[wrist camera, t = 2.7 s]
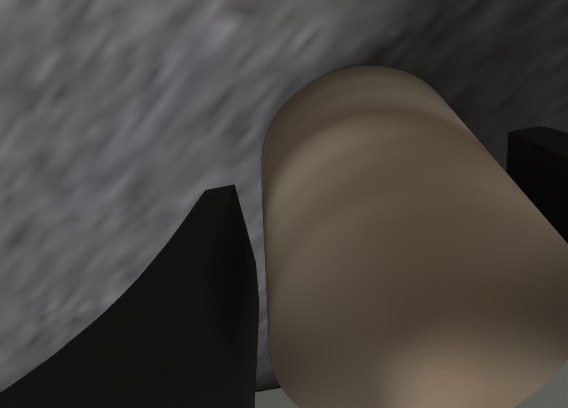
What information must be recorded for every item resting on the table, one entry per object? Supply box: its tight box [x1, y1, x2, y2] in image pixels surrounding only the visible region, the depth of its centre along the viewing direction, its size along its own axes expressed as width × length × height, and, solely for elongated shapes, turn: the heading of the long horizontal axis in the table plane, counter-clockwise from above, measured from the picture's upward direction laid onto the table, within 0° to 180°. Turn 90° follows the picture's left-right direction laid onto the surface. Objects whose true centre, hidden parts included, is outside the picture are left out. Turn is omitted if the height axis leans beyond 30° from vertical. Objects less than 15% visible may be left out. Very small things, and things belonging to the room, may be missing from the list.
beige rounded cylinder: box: [261, 66, 568, 408], centre depth 10 cm, size 5×5×6 cm
